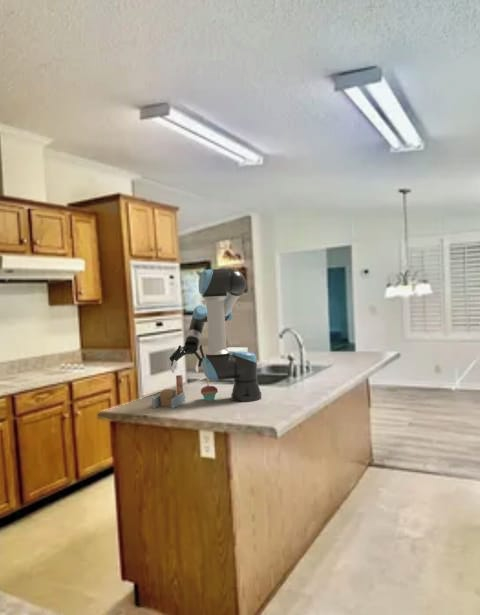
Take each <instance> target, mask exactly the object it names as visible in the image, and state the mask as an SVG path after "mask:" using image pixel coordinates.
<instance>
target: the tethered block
mask: <svg viewBox="0 0 480 615" xmlns="http://www.w3.org/2000/svg"><path fill="white" fill-rule="evenodd" d="M175 379H176V380H175V383H176V389H175V388H174V389H171V388H170V389H168V388H165V389H163V390H161V391H159V393H160V394H159V395H160V401H161V405H160V407H167V406H171V399H172V398H174V397H176V396H177V395H179V394H181V393H184V386H183V385H184V384H183V382H184V381H183V374H179V375H178V374H177V375H176V376H175Z"/></svg>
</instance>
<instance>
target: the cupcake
mask: <svg viewBox="0 0 480 615" xmlns="http://www.w3.org/2000/svg"><path fill="white" fill-rule="evenodd" d="M209 381H210V380H208V379H207V378H206V382H207V385H206V386H204V387H202V388H201V389H200V394H201V395H202V397H203V399H204V401H205V402H212V401H215V398H216V395H217V393H218V392H219V391H218V388H217V387H216V386H215V385H210V383H209Z"/></svg>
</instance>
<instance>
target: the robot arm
mask: <svg viewBox="0 0 480 615" xmlns="http://www.w3.org/2000/svg"><path fill="white" fill-rule="evenodd" d="M246 289H247V280H246V278H245V276H244V275H243V273H242V272H240V271H239V270H238V269H234V268H217V269H216V268H211V269H210V268H209V269H204V270H202V272H200V274H199V278H198V292H199V294H201V295H202V298H203V299H204V300H205V301H206V302H205V303H206V306H204V305H202V304H201V305H197V306H195V307H194V308H193V309H194V310H193V311H192V318H191V319H190V324H189V328H188V332H187V335H186V338H185V341H184V344H183V346H182V345H178V347H177V349H176V350H175V351H174V352H173V353H172V355H171V356H170V357H169V360H170V362H171V364H170V365H171V369H170V370H171V372H172V373H173V374H174V373H175V370H176V367H177V361H179V360H180V359H181V358H183V356H186V355H193V354H194V355H195V357H196V359H197V361H196V364H195V369H194V371H195V373H196V374H198V373H199V370H200V367H202V368H203V373H204V376H205V378H206V380H207V379H208V381H211V382H214V381H216V382H218V381H222V380H226V379H234V381H233V386H232V392H231V393H230V394H231V395H230V397H231V400H232V401H236V402H253V401H254V402H255V401H257V400H260V399H262V397H263V396H262V392H261V390H260V386H259V383H258V367H257V366H258V365H257V364H258V361H257V356H256V354H255V353H253V352H249V351H248V352H237V351H236V352H233V355H230V352H229V351H228V350H227V349H226V348H227V340H226V339H227V338H226V337H227V336H226V322H228V321H232V319H233V311H232V310H233V308H234V306H235V304H236V303H237V301H238V300H239V298H240V297H241V296H243V294H244V293H245V291H246ZM205 323H207V339H208V341H207V342H208V343H207V344H208V350H207V352H205V354H204V347H203V345H202V344H200V341H201V336H202V332H203V329H204V327H205ZM199 344H200V345H199ZM197 351H199V352H200V354H201V356H200V354H199V353H198V352H197Z"/></svg>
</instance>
